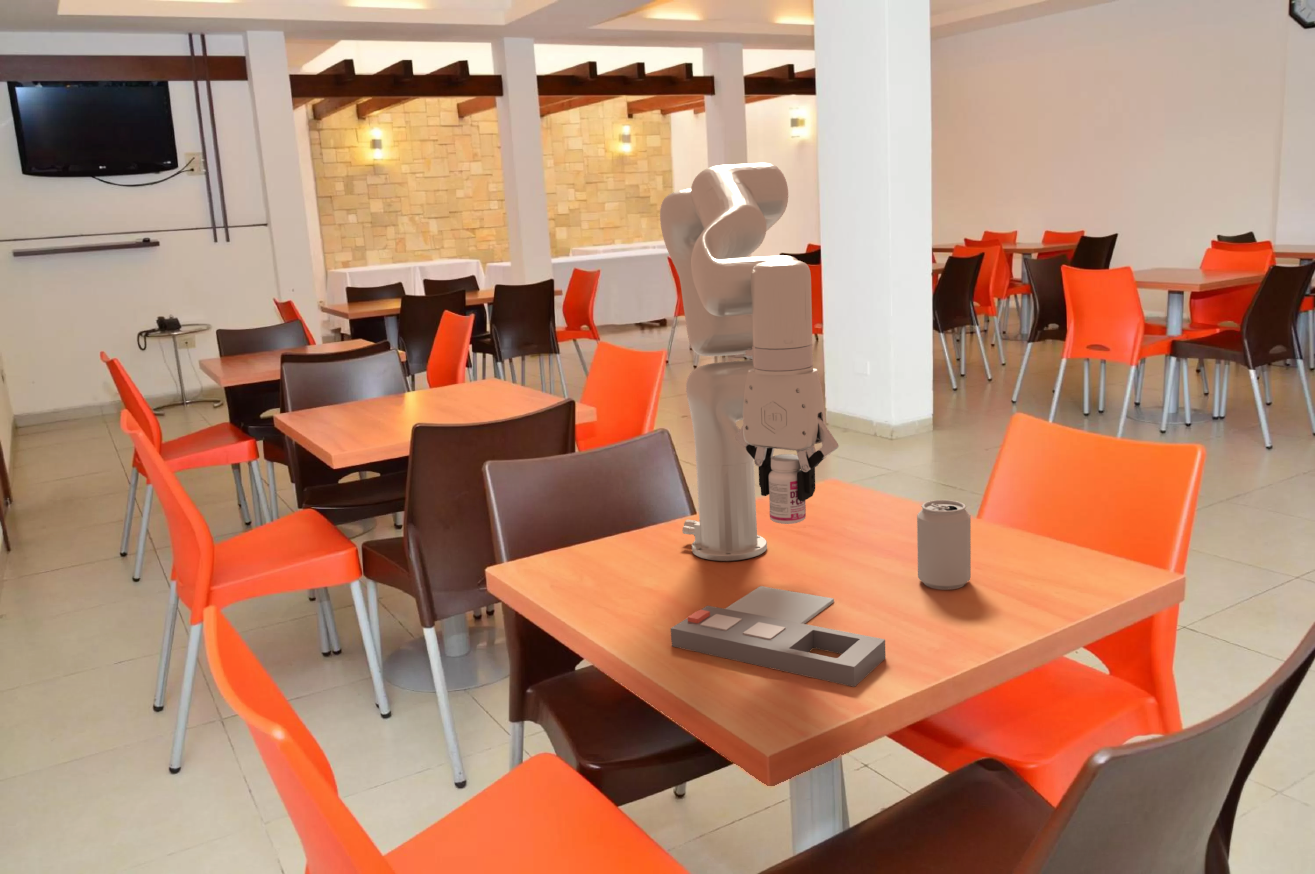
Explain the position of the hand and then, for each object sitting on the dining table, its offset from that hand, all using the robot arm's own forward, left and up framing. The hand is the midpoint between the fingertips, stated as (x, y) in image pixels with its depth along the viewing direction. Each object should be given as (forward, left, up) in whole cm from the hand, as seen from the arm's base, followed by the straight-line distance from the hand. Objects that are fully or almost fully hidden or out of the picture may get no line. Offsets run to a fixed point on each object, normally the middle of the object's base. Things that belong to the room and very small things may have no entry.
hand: (787, 494), depth 136 cm
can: (+12, +25, -19) cm, 33 cm away
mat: (-5, +5, -18) cm, 20 cm away
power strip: (+2, -8, -18) cm, 20 cm away
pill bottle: (0, 0, -4) cm, 4 cm away
